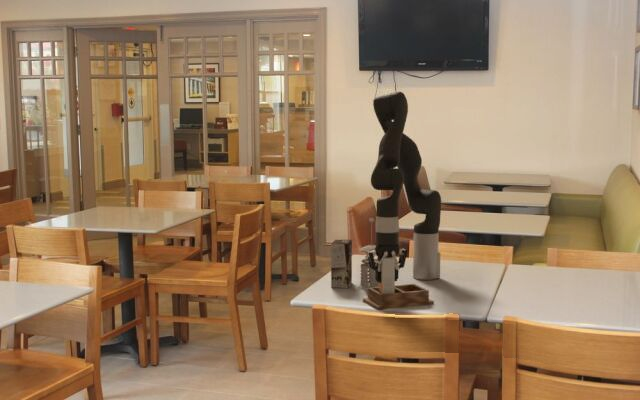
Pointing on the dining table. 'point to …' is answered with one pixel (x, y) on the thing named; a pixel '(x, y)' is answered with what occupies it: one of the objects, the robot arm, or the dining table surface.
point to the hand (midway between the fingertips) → (386, 281)
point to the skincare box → (387, 276)
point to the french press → (364, 272)
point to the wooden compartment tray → (398, 297)
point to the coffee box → (341, 263)
